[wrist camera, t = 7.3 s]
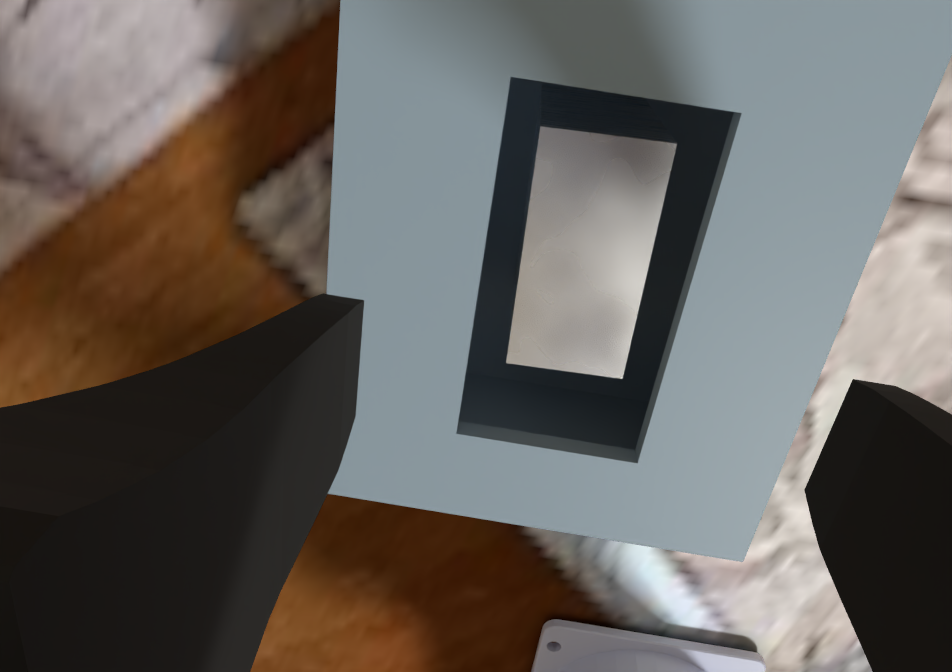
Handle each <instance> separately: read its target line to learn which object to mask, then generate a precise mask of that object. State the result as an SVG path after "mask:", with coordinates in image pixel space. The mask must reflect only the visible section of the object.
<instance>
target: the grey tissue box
mask: <svg viewBox="0 0 952 672" xmlns="http://www.w3.org/2000/svg"><path fill="white" fill-rule="evenodd" d="M951 56H952V0H340V21H339V42H338V63H337V84H336V105H335V126H334V147H333V168H332V189H331V210H330V231H329V252H328V273H327V294H329V295H335V296H341V297H348V298H354V299H360V300H364V311H363V324H362V338H361V351H360V364H359V378H358V391H357V405H356V417H355V420H354V423H353V427H352V430H351V433H350V436H349V440H348V443H347V446H346V449H345V452H344V455H343V458H342V461H341V464H340V467H339V470H338V472H337V475H336V477H335V479H334V481H333V483H332V485H331V487H330V490H329V492H328V494H333V495H339V496H345V497H351V498H358V499H364V500H370V501H376V502H382V503H388V504H394V505H400V506H406V507H412V508H418V509H424V510H430V511H436V512H442V513H448V514H455V515H461V516H467V517H473V518H479V519H485V520H491V521H497V522H503V523H509V524H515V525H521V526H527V527H533V528H539V529H545V530H551V531H558V532H564V533H570V534H576V535H582V536H588V537H594V538H600V539H606V540H612V541H618V542H624V543H630V544H636V545H642V546H648V547H655V548H661V549H667V550H673V551H679V552H685V553H691V554H697V555H703V556H709V557H715V558H721V559H727V560H733V561H739V562H743V561H744V558H745V556H746V554H747V551H748V549H749V546H750V544H751V541H752V539H753V537H754V534H755V532H756V529H757V527H758V524H759V522H760V520H761V517H762V515H763V512H764V510H765V507H766V505H767V503H768V500H769V498H770V495H771V493H772V490H773V488H774V486H775V483H776V481H777V478H778V476H779V473H780V471H781V469H782V466H783V464H784V461H785V459H786V456H787V454H788V452H789V449H790V447H791V444H792V442H793V439H794V437H795V435H796V432H797V430H798V427H799V425H800V422H801V420H802V418H803V415H804V413H805V410H806V408H807V405H808V403H809V401H810V398H811V396H812V393H813V391H814V388H815V386H816V384H817V381H818V379H819V376H820V374H821V371H822V369H823V367H824V364H825V362H826V359H827V357H828V354H829V352H830V350H831V347H832V345H833V342H834V340H835V337H836V335H837V333H838V330H839V328H840V325H841V323H842V320H843V318H844V316H845V313H846V311H847V308H848V306H849V303H850V301H851V298H852V296H853V294H854V291H855V289H856V286H857V284H858V281H859V279H860V277H861V274H862V272H863V269H864V267H865V264H866V262H867V260H868V257H869V255H870V252H871V250H872V247H873V245H874V243H875V240H876V238H877V235H878V233H879V230H880V228H881V226H882V223H883V221H884V218H885V216H886V213H887V211H888V209H889V206H890V204H891V201H892V199H893V196H894V194H895V192H896V189H897V187H898V184H899V182H900V179H901V177H902V175H903V172H904V170H905V167H906V165H907V162H908V160H909V158H910V155H911V153H912V150H913V148H914V145H915V143H916V141H917V138H918V136H919V133H920V131H921V128H922V126H923V124H924V121H925V119H926V116H927V114H928V111H929V109H930V107H931V104H932V102H933V99H934V97H935V94H936V92H937V90H938V87H939V85H940V82H941V80H942V77H943V75H944V73H945V70H946V68H947V65H948V63H949V60H950V58H951ZM542 85H546V86H554V87H562V88H570V89H578V90H586V91H594V92H602V93H610V94H618V95H626V96H634V97H642V98H645V99H646V101H647V102H648V103H649V105H650V106H651V108H652V109H653V110H654V112H655V113H656V115H657V116H658V117H659V119H660V120H661V122H662V123H663V125H664V126H665V127H666V129H667V130H668V132H669V133H670V134H671V136H672V137H673V139H674V140H675V141H676V143H677V146H676V151H675V155H674V159H673V164H672V168H671V172H670V177H669V181H668V185H667V189H666V194H665V198H664V202H663V207H662V211H661V215H660V220H659V224H658V228H657V233H656V237H655V241H654V245H653V250H652V254H651V258H650V263H649V267H648V271H647V276H646V280H645V284H644V289H643V293H642V297H641V301H640V306H639V310H638V314H637V319H636V323H635V327H634V332H633V336H632V340H631V345H630V349H629V353H628V357H627V362H626V366H625V370H624V375H623V379H620V378H612V377H605V376H598V375H590V374H583V373H576V372H568V371H561V370H554V369H546V368H539V367H531V366H524V365H517V364H509V363H506V359H507V349H508V338H509V328H510V318H511V308H512V298H513V288H514V278H515V270H516V263H517V256H518V249H519V242H520V235H521V228H522V221H523V214H524V207H525V200H526V193H527V186H528V179H529V172H530V165H531V158H532V151H533V144H534V137H535V130H536V123H537V116H538V109H539V102H540V95H541V88H542Z"/></svg>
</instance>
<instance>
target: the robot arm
mask: <svg viewBox="0 0 952 672" xmlns="http://www.w3.org/2000/svg"><path fill="white" fill-rule="evenodd" d="M363 311H364V300H360V299H354V298H348V297H341V296H335V295H329V294H321V295H318V296H316V297H313V298H311V299H309V300H307V301H305V302H303V303H301V304H299V305H297V306H295V307H293V308H291V309H289V310H287V311H285V312H283V313H281V314H279V315H277V316H275V317H273V318H271V319H269V320H267V321H265V322H263V323H261V324H258V325H256V326H254V327H252V328H250V329H248V330H246V331H244V332H242V333H240V334H238V335H236V336H233V337H231V338H229V339H226V340H224V341H222V342H219V343H217V344H215V345H212V346H210V347H208V348H205V349H203V350H201V351H198V352H196V353H194V354H191V355H189V356H187V357H184V358H182V359H179V360H177V361H174V362H171V363H169V364H166V365H163V366H160V367H157V368H155V369H152V370H149V371H146V372H142V373H139V374H136V375H133V376H130V377H126V378H123V379H120V380H117V381H114V382H110V383H107V384H103V385H100V386H95V387H91V388H87V389H83V390H79V391H74V392H70V393H66V394H62V395H57V396H53V397H49V398H45V399H40V400H36V401H32V402H28V403H23V404H18V405H13V406H8V407H2V408H0V672H250V670H251V668H252V665H253V662H254V659H255V656H256V654H257V651H258V648H259V645H260V642H261V639H262V637H263V634H264V631H265V628H266V625H267V623H268V620H269V617H270V615H271V613H272V610H273V608H274V606H275V603H276V601H277V599H278V596H279V594H280V592H281V589H282V587H283V585H284V583H285V581H286V579H287V577H288V575H289V573H290V571H291V569H292V567H293V565H294V562H295V560H296V558H297V556H298V554H299V552H300V550H301V548H302V546H303V544H304V542H305V540H306V538H307V536H308V533H309V531H310V529H311V527H312V525H313V523H314V521H315V519H316V517H317V515H318V513H319V511H320V509H321V506H322V504H323V502H324V500H325V498H326V496H327V494H328V492H329V490H330V487H331V485H332V483H333V481H334V479H335V477H336V475H337V472H338V470H339V467H340V464H341V461H342V458H343V455H344V452H345V449H346V446H347V443H348V440H349V436H350V433H351V430H352V427H353V423H354V420H355V417H356V405H357V391H358V378H359V364H360V351H361V338H362V324H363ZM805 494H806V498H807V502H808V507H809V511H810V515H811V519H812V523H813V527H814V530H815V534H816V538H817V541H818V545H819V548H820V551H821V553H822V556H823V558H824V561H825V563H826V566H827V568H828V570H829V573H830V575H831V577H832V580H833V582H834V584H835V587H836V589H837V591H838V594H839V596H840V598H841V601H842V603H843V605H844V607H845V610H846V612H847V614H848V617H849V619H850V621H851V623H852V626H853V628H854V630H855V632H856V635H857V637H858V639H859V641H860V644H861V646H862V648H863V650H864V653H865V655H866V657H867V660H868V662H869V664H870V666H871V669H872V671H873V672H952V415H951V414H950V413H948V412H946V411H944V410H943V409H941V408H939V407H937V406H935V405H934V404H932V403H930V402H928V401H926V400H924V399H922V398H920V397H919V396H916V395H914V394H912V393H910V392H908V391H906V390H903V389H901V388H899V387H896V386H892V385H885V384H879V383H873V382H867V381H861V380H855V379H853V380H852V383H851V385H850V387H849V389H848V392H847V394H846V396H845V399H844V401H843V403H842V405H841V408H840V410H839V412H838V415H837V417H836V419H835V422H834V424H833V426H832V428H831V431H830V433H829V435H828V438H827V440H826V442H825V444H824V447H823V449H822V451H821V454H820V456H819V458H818V460H817V463H816V465H815V467H814V470H813V472H812V474H811V476H810V479H809V481H808V483H807V486H806V488H805ZM552 642H557V643H552ZM765 669H766V666H765V663H764V660H763V657H762V656H761V655H760V654H759V653H755V652H752V651H746V650H740V649H734V648H728V647H722V646H716V645H710V644H704V643H698V642H692V641H686V640H680V639H674V638H668V637H662V636H656V635H650V634H644V633H638V632H632V631H626V630H620V629H614V628H608V627H602V626H596V625H590V624H584V623H578V622H572V621H566V620H560V619H553V620H549V621H547V622H546V623H545V624H544V625H543V627H542V631H541V635H540V639H539V643H538V647H537V651H536V655H535V659H534V663H533V666H532V670H531V672H765Z"/></svg>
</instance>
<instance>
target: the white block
mask: <svg viewBox="0 0 952 672" xmlns="http://www.w3.org/2000/svg"><path fill="white" fill-rule="evenodd" d="M676 146H677V143H676V141H675V140H674V139H673V137H672V136H671V134H670V133H669V132H668V130H667V129H666V127H665V126H664V125H663V123H662V122H661V120H660V119H659V117H658V116H657V115H656V113H655V112H654V110H653V109H652V108H651V106H650V105H649V103H648V102H647V101H646V99H645V98H642V97H634V96H626V95H618V94H610V93H602V92H594V91H586V90H578V89H570V88H562V87H554V86H546V85H542V88H541V95H540V102H539V109H538V116H537V123H536V130H535V137H534V144H533V151H532V158H531V165H530V172H529V179H528V186H527V193H526V200H525V207H524V214H523V221H522V228H521V235H520V242H519V249H518V256H517V263H516V270H515V278H514V288H513V298H512V308H511V318H510V328H509V338H508V349H507V359H506V363H509V364H517V365H524V366H531V367H539V368H546V369H554V370H561V371H568V372H576V373H583V374H590V375H598V376H605V377H612V378H620V379H623V375H624V370H625V366H626V362H627V357H628V353H629V349H630V345H631V340H632V336H633V332H634V327H635V323H636V319H637V314H638V310H639V306H640V301H641V297H642V293H643V289H644V284H645V280H646V276H647V271H648V267H649V263H650V258H651V254H652V250H653V245H654V241H655V237H656V233H657V228H658V224H659V220H660V215H661V211H662V207H663V202H664V198H665V194H666V189H667V185H668V181H669V177H670V172H671V168H672V164H673V159H674V155H675V151H676Z"/></svg>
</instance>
